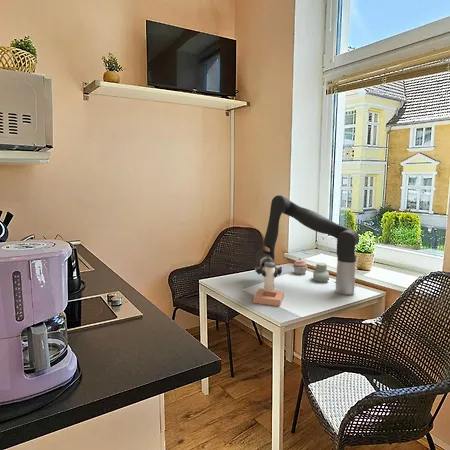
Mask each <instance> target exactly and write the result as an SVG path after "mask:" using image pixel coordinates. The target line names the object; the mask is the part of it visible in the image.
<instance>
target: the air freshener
mask: <svg viewBox="0 0 450 450" xmlns="http://www.w3.org/2000/svg"><path fill="white" fill-rule="evenodd" d="M315 267H316V268H315V270H313V274H312V275H313V276H312V278H313V281H316V282H319V283H324V282H328V281H329V280H330V273H329V271H328V270H327V268H328V265H327V263H326V262H317V263H316V265H315Z"/></svg>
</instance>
